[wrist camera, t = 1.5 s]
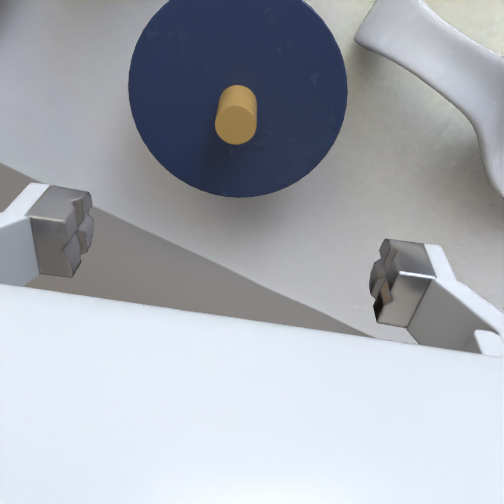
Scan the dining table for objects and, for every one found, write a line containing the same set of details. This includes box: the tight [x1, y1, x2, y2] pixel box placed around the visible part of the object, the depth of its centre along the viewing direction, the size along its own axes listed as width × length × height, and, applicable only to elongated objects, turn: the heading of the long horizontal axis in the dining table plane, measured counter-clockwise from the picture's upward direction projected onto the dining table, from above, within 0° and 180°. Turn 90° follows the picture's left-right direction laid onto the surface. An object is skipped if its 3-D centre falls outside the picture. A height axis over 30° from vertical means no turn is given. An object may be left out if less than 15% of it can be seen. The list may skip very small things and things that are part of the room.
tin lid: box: [128, 0, 348, 198], centre depth 28 cm, size 14×14×5 cm
